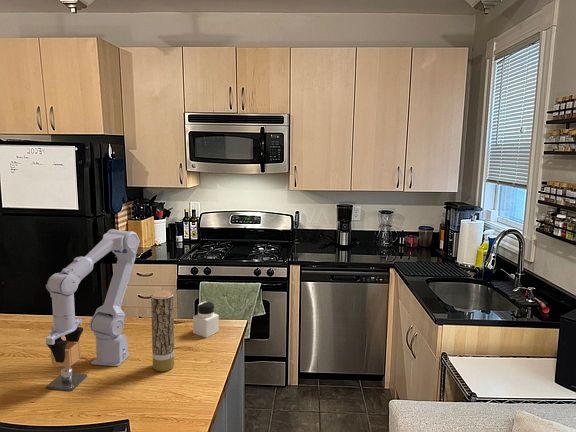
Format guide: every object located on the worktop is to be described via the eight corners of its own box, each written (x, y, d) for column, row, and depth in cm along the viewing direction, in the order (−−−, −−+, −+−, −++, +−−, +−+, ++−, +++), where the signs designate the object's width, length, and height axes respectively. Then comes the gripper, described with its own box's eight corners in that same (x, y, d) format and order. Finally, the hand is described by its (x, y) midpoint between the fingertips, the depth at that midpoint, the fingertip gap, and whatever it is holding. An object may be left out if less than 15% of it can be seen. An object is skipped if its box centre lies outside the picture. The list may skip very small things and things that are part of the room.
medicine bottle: (219, 331, 167) (219, 302, 165) (206, 338, 161) (206, 308, 159) (205, 327, 170) (205, 298, 169) (192, 333, 164) (192, 304, 163)
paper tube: (154, 374, 134) (152, 298, 130) (151, 364, 140) (150, 291, 136) (175, 370, 137) (174, 296, 133) (172, 360, 143) (171, 289, 139)
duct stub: (87, 376, 132) (86, 363, 131) (71, 390, 124) (71, 377, 123) (62, 374, 132) (62, 361, 132) (46, 388, 124) (45, 375, 124)
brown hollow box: (80, 357, 129) (80, 342, 129) (69, 366, 124) (69, 350, 123) (63, 356, 130) (62, 340, 129) (51, 365, 124) (50, 349, 123)
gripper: (65, 304, 132) (68, 345, 134) (34, 322, 118) (37, 368, 120) (87, 305, 131) (89, 346, 133) (58, 323, 117) (61, 369, 119)
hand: (66, 356), depth 127 cm, fingers closed on brown hollow box, 6 cm apart
